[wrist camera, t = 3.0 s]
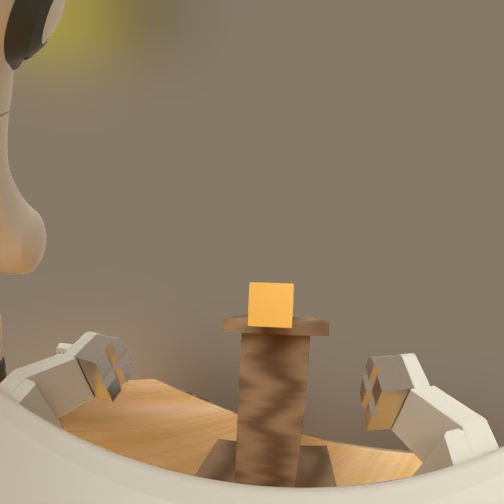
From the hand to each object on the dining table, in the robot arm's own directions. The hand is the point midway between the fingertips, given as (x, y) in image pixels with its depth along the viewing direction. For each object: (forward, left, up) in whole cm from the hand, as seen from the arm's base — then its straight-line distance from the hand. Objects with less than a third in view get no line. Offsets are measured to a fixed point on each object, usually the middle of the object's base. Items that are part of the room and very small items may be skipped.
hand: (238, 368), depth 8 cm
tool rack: (0, +32, -26) cm, 41 cm away
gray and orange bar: (0, +26, 0) cm, 26 cm away
